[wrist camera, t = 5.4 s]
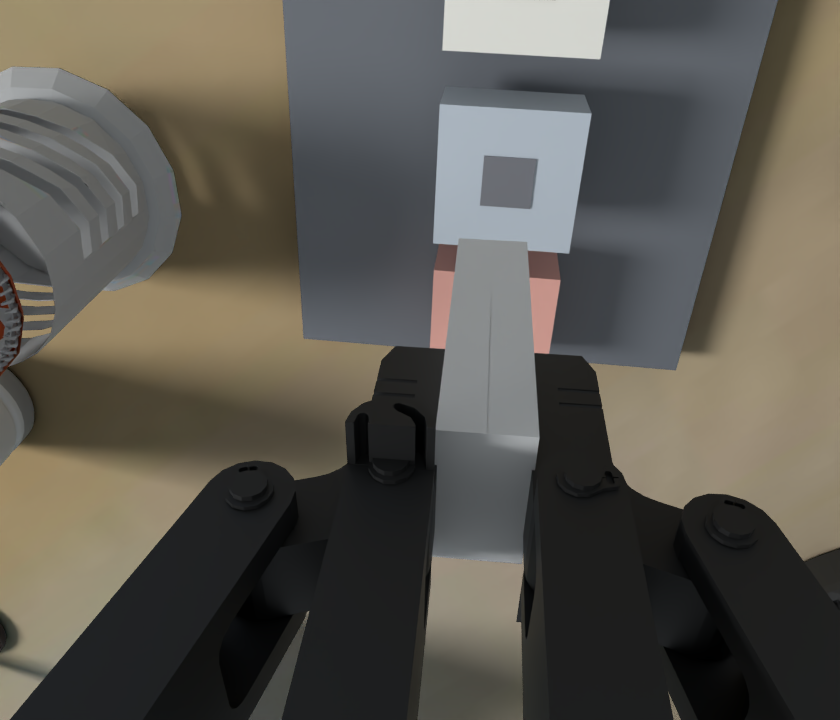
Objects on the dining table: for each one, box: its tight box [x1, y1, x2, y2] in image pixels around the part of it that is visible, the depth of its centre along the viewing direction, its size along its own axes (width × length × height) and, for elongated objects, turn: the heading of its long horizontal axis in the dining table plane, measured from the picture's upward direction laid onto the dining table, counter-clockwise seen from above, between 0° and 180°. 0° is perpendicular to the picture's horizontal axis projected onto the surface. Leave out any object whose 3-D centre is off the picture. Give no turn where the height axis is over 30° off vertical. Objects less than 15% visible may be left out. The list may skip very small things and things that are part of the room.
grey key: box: [433, 86, 592, 254], centre depth 24 cm, size 4×4×4 cm
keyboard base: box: [283, 0, 778, 370], centre depth 27 cm, size 16×18×2 cm
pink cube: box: [430, 244, 561, 354], centre depth 28 cm, size 4×4×4 cm
